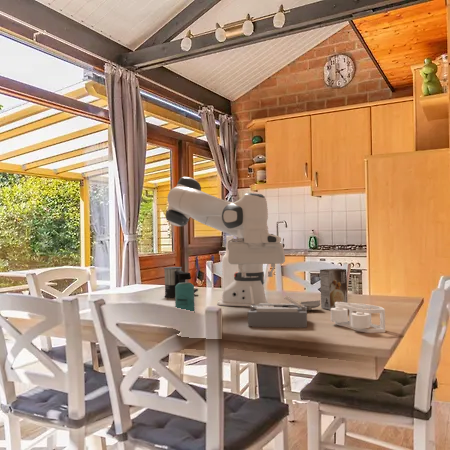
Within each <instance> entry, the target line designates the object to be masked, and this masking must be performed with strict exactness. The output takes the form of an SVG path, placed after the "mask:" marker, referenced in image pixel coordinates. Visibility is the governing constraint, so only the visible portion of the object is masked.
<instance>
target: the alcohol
mask: <svg viewBox="0 0 450 450" xmlns="http://www.w3.org/2000/svg"><path fill="white" fill-rule="evenodd" d="M234 237H235V236H233V235H226V242H225V254H224V255H222V259H221V265H222V266H221V267H222V271H221V272H222V292H223V291H224V289H225V288H226V287H228V286H229V285H230V284H231V283H232V282H234V281H235V280H234V274H235V273H236V272H239V268H238V264H230V263H229V262H228V256H229V250H228V242H229V241H230V240H231V239H235V238H234ZM230 242H232V241H230Z"/></svg>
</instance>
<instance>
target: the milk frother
mask: <svg viewBox="0 0 450 450" xmlns="http://www.w3.org/2000/svg"><path fill="white" fill-rule="evenodd" d="M182 268H183V267H182V266H169V267H167V266H166V267H163V269H164V288H165V289H164V297H165V298H175V286H176V285H177V284H178V283H185V282H186V280H179V279H178V277H179V273H184V272H185V271H183V270H182ZM198 291H199V289H198V288H194V294H195V293H197V292H198Z"/></svg>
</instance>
